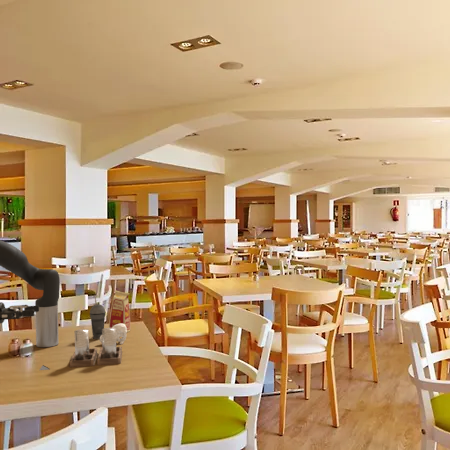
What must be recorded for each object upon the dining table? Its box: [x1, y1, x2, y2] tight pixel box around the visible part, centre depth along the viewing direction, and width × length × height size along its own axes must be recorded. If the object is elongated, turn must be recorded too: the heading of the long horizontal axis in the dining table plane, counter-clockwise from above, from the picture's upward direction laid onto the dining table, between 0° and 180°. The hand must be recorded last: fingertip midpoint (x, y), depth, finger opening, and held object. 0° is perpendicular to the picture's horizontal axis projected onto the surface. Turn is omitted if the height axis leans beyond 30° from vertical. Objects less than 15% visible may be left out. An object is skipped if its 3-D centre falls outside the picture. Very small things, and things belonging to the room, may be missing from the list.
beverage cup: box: [89, 294, 106, 340], centre depth 224 cm, size 7×7×20 cm
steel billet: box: [74, 328, 90, 360], centre depth 179 cm, size 5×5×12 cm
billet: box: [101, 327, 117, 359], centre depth 181 cm, size 5×5×12 cm
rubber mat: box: [39, 364, 50, 371], centre depth 178 cm, size 9×9×1 cm
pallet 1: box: [69, 347, 99, 368], centre depth 184 cm, size 18×9×3 cm, turn 10°
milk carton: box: [108, 290, 131, 333], centre depth 238 cm, size 9×9×20 cm
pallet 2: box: [96, 346, 123, 366], centre depth 186 cm, size 18×9×3 cm, turn 10°
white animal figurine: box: [99, 323, 128, 345], centre depth 213 cm, size 6×8×12 cm
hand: (36, 310), depth 177 cm, fingers open, 8 cm apart
